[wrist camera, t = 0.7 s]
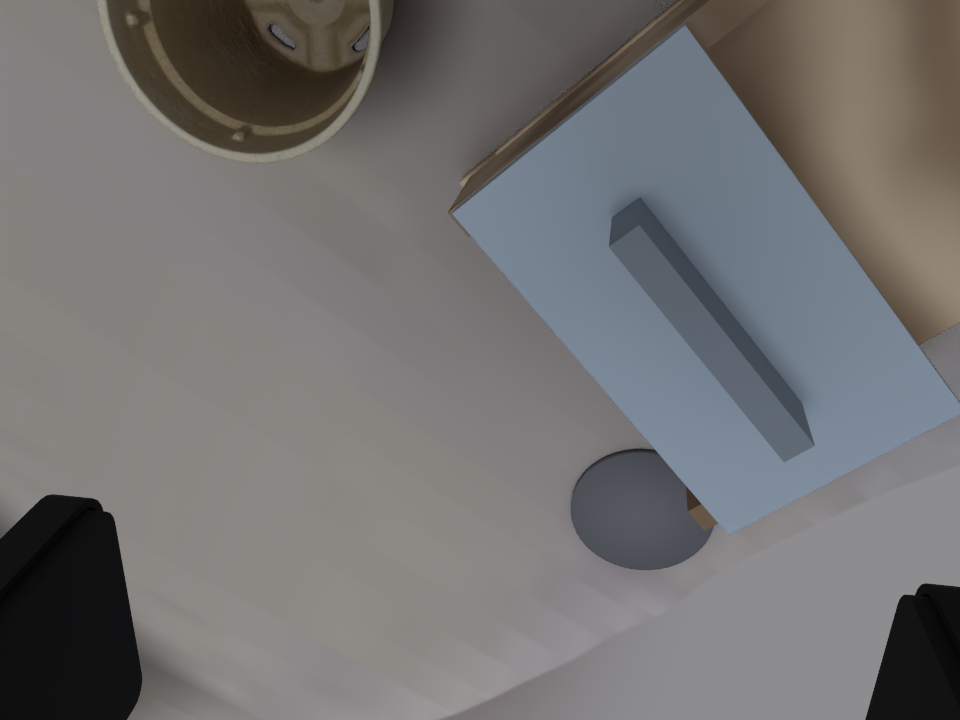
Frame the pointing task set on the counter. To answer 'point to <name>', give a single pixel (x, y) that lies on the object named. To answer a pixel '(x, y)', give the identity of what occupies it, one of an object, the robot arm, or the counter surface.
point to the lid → (706, 289)
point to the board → (832, 129)
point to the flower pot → (247, 68)
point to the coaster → (635, 512)
